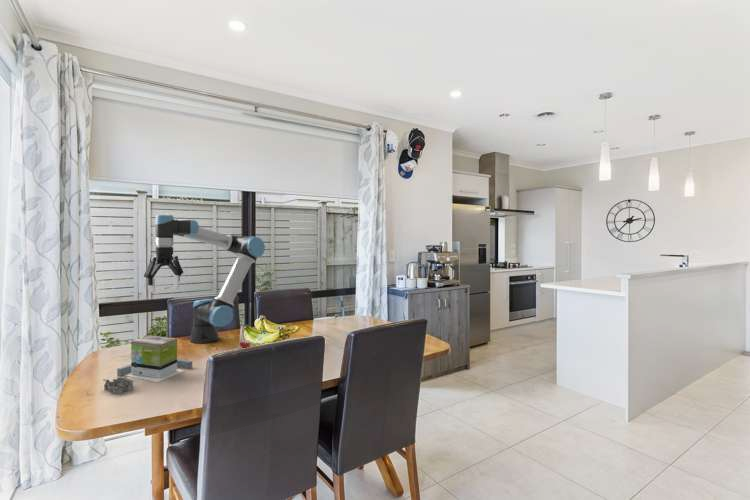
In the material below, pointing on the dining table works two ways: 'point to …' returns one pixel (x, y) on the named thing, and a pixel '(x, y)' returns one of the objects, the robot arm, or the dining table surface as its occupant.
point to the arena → (127, 372)
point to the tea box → (154, 356)
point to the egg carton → (118, 385)
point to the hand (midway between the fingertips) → (164, 290)
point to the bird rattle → (244, 345)
